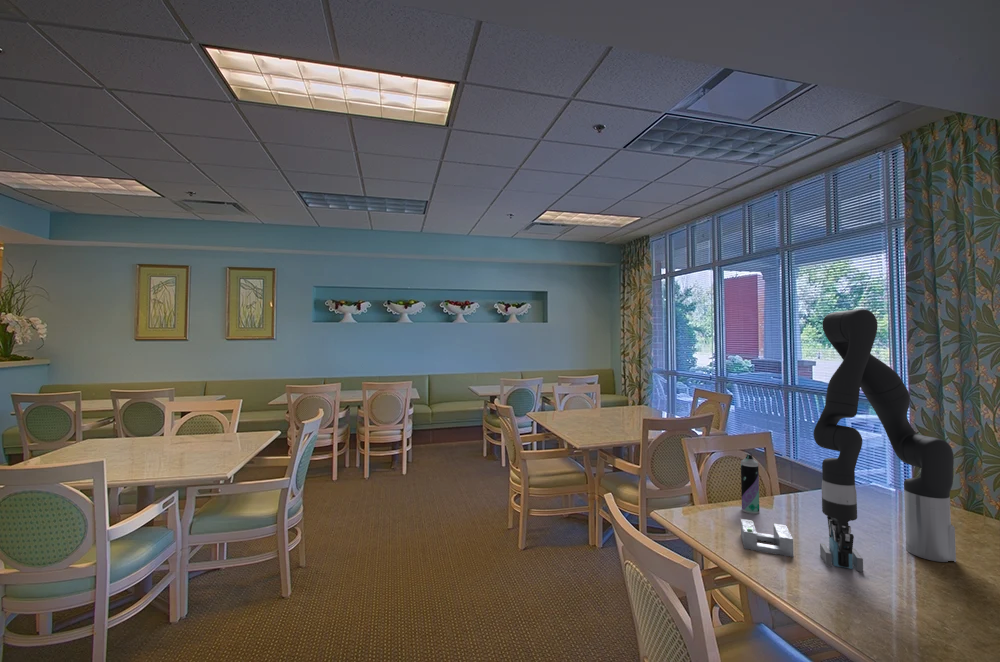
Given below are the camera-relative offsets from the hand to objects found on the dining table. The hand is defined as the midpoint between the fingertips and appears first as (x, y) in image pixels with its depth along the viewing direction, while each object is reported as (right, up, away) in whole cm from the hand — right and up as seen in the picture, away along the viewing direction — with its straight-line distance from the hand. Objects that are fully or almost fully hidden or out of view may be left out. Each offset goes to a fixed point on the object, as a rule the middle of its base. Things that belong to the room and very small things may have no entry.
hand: (840, 561), depth 116 cm
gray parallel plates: (0, 0, 0) cm, 0 cm away
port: (-14, -1, +11) cm, 17 cm away
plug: (0, 0, 0) cm, 0 cm away
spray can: (-3, -2, +36) cm, 37 cm away
